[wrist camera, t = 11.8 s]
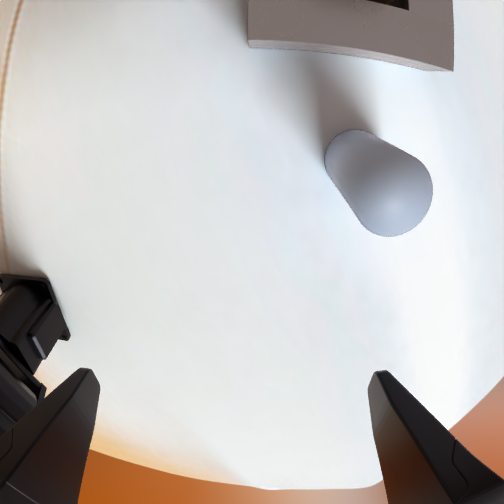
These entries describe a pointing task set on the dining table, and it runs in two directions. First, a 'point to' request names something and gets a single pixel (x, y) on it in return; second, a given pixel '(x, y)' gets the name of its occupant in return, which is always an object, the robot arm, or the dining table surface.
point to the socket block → (359, 29)
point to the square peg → (381, 1)
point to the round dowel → (379, 182)
